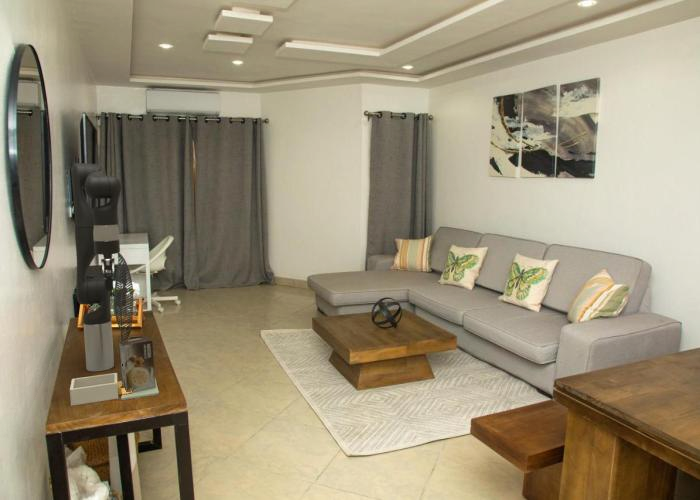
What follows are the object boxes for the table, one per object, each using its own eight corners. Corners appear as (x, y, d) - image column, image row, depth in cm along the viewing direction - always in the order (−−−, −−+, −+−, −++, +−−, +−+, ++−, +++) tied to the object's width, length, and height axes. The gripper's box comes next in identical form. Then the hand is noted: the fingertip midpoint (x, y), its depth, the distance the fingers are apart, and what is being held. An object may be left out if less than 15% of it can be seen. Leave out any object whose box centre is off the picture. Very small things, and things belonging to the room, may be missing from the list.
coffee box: (150, 382, 179) (148, 335, 177) (156, 387, 174) (153, 340, 172) (121, 388, 174) (118, 340, 172) (126, 394, 169) (123, 345, 167)
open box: (73, 393, 171) (72, 378, 170) (117, 387, 176) (116, 372, 176) (70, 405, 162) (69, 390, 161) (118, 398, 167) (117, 383, 166)
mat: (120, 385, 178) (120, 383, 178) (155, 379, 183) (155, 378, 183) (121, 400, 166) (121, 398, 166) (158, 394, 170) (158, 392, 170)
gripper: (94, 237, 177) (97, 285, 179) (93, 241, 164) (96, 293, 166) (118, 236, 180) (121, 283, 182) (119, 240, 167) (122, 291, 169)
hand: (109, 288), depth 174 cm, fingers open, 8 cm apart
